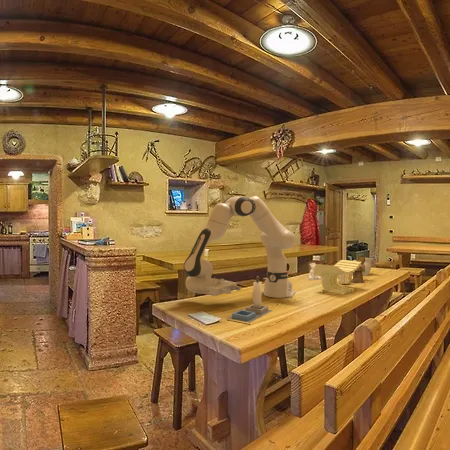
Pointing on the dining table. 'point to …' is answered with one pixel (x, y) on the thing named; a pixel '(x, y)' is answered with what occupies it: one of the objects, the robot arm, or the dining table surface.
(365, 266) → the pitcher
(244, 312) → the lever base plate
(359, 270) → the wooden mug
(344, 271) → the slatted curved stool
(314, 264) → the white creature statuette
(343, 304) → the dining table surface
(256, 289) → the knob-topped cream cylinder
